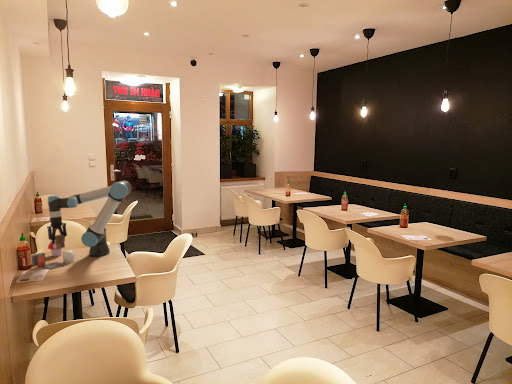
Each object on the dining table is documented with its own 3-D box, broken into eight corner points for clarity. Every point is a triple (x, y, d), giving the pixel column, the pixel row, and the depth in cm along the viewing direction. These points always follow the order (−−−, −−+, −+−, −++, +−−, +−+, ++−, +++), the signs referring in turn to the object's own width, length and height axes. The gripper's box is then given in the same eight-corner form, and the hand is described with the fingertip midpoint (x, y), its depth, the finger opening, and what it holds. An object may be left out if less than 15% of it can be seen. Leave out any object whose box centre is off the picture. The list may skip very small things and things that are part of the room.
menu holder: (43, 261, 283) (42, 252, 282) (45, 262, 281) (44, 253, 280) (32, 264, 276) (31, 255, 275) (34, 265, 275) (33, 256, 274)
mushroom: (67, 254, 299) (66, 239, 298) (53, 258, 290) (52, 243, 289) (59, 252, 305) (58, 238, 303) (45, 256, 296) (44, 241, 294)
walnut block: (60, 246, 288) (59, 234, 287) (64, 247, 286) (63, 235, 284) (53, 248, 284) (52, 236, 282) (57, 249, 281) (56, 237, 280)
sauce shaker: (42, 264, 276) (41, 253, 275) (46, 265, 274) (45, 253, 273) (37, 266, 273) (36, 254, 272) (40, 267, 271) (39, 255, 270)
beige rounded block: (70, 259, 287) (69, 249, 285) (76, 261, 283) (75, 250, 282) (61, 262, 281) (60, 251, 279) (67, 263, 277) (66, 253, 276)
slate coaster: (56, 262, 280) (56, 261, 280) (65, 264, 275) (65, 264, 275) (41, 266, 271) (41, 266, 271) (51, 269, 265) (50, 268, 265)
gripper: (64, 213, 291) (67, 243, 294) (40, 218, 275) (44, 249, 279) (70, 214, 287) (73, 244, 291) (46, 219, 272) (50, 251, 275)
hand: (59, 247), depth 285 cm, fingers closed on walnut block, 5 cm apart
